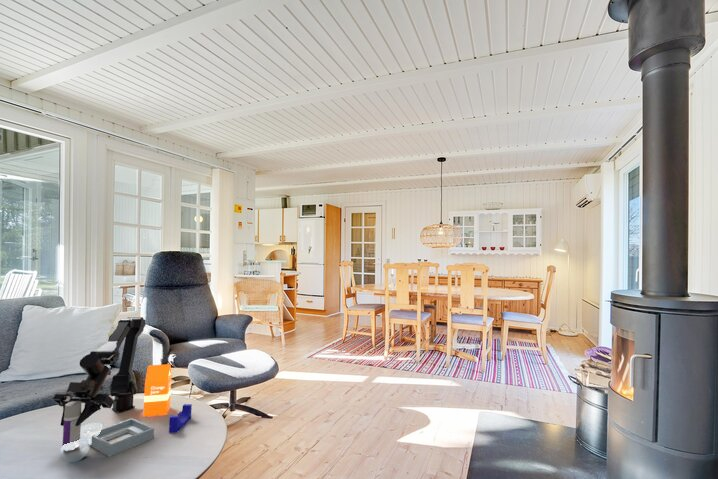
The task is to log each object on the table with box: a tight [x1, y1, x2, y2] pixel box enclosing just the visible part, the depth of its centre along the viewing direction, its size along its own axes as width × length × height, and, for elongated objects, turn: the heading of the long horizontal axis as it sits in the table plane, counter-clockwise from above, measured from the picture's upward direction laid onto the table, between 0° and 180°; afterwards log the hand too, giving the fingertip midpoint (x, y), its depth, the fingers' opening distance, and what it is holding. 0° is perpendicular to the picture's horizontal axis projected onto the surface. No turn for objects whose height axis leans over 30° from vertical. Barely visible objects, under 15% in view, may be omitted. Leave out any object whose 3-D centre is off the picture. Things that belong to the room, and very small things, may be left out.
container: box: [61, 401, 82, 446], centre depth 123 cm, size 5×5×15 cm
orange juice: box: [142, 363, 172, 418], centre depth 154 cm, size 8×9×20 cm
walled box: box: [91, 417, 155, 457], centre depth 130 cm, size 15×15×4 cm
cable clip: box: [168, 403, 193, 434], centre depth 143 cm, size 12×4×6 cm, turn 1°
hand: (69, 425), depth 122 cm, fingers closed on container, 5 cm apart
